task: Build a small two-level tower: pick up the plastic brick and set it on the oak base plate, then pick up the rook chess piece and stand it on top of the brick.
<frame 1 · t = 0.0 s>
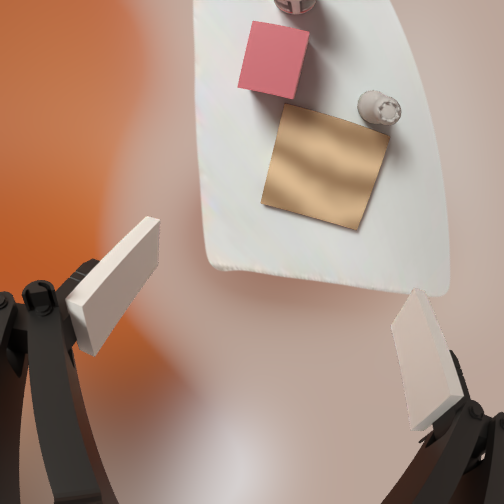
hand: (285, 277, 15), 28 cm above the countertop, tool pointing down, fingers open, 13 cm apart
brick: (278, 64, 33), on the countertop
base plate: (323, 167, 39), on the countertop
rook chess piece: (373, 106, 33), on the countertop
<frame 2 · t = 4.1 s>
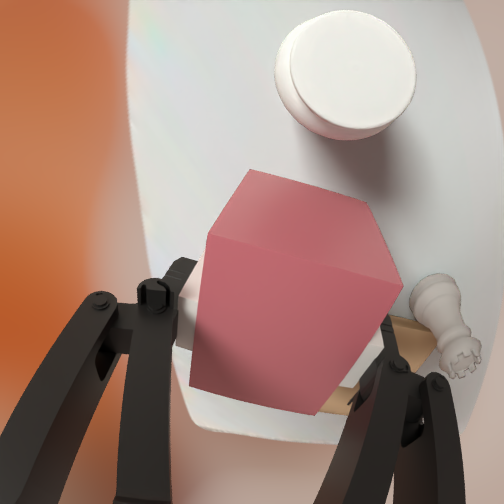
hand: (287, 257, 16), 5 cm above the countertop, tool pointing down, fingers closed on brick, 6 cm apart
pill bottle: (328, 83, 16), on the countertop
brick: (288, 253, 16), point 5 cm above the countertop, touching gripper
base plate: (343, 365, 27), on the countertop
rook chess piece: (431, 291, 22), on the countertop
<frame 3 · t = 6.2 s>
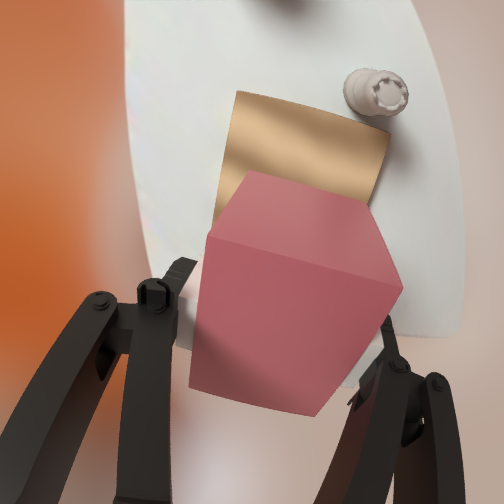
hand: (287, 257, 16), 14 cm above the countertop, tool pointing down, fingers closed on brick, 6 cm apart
brick: (288, 254, 16), point 14 cm above the countertop, touching gripper
base plate: (296, 178, 28), on the countertop
rook chess piece: (366, 91, 23), on the countertop
when the fingers open (2 cm above the countertop, at t = 8.6 s): brick stays where it is, resting on base plate.
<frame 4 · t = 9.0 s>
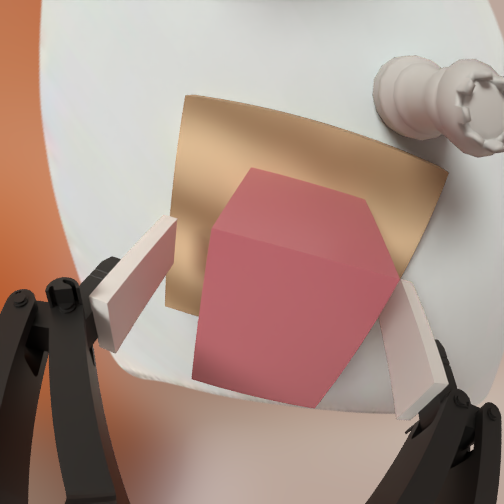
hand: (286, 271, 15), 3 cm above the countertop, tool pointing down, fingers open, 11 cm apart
brick: (288, 249, 17), point 1 cm above the countertop, touching base plate
base plate: (290, 239, 18), on the countertop
rook chess piece: (409, 96, 13), on the countertop
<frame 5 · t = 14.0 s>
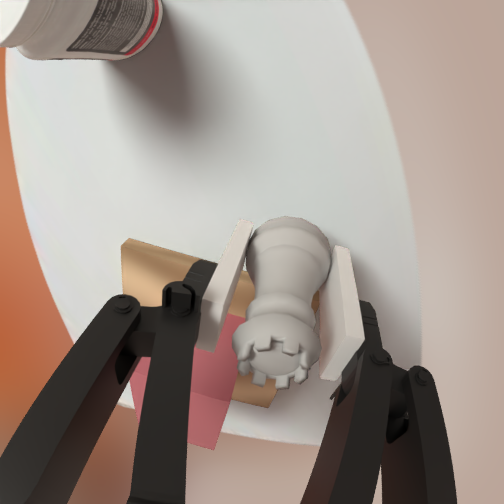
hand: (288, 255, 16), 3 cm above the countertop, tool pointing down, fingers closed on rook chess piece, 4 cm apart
pill bottle: (128, 22, 13), on the countertop
brick: (204, 344, 23), point 1 cm above the countertop, touching base plate
base plate: (208, 334, 24), on the countertop
rook chess piece: (289, 248, 17), point 2 cm above the countertop, touching gripper
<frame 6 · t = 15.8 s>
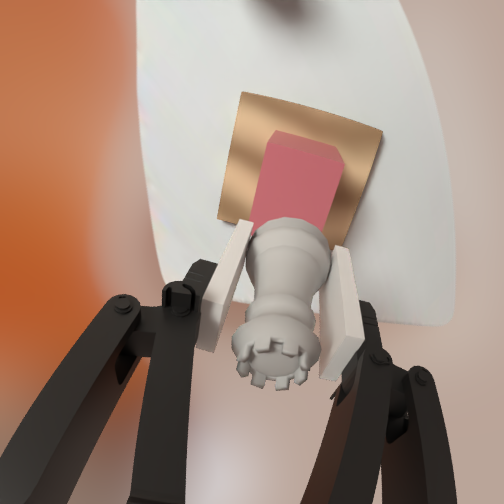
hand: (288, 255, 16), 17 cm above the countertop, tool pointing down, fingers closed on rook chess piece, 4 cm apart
brick: (295, 175, 29), point 1 cm above the countertop, touching base plate
base plate: (296, 172, 30), on the countertop
rook chess piece: (289, 249, 17), point 16 cm above the countertop, touching gripper
when the fingers open (9 cm above the countertop, at t = 17.4 s): rook chess piece stays where it is, resting on brick.
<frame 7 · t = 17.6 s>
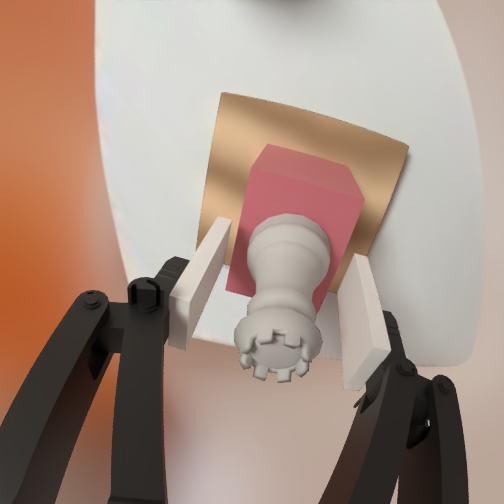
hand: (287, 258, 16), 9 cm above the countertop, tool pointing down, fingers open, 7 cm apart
brick: (294, 203, 23), point 1 cm above the countertop, touching base plate, rook chess piece
base plate: (294, 198, 24), on the countertop
rook chess piece: (289, 245, 17), point 8 cm above the countertop, touching brick
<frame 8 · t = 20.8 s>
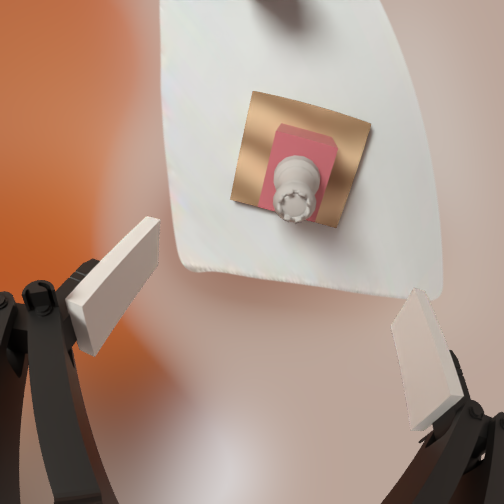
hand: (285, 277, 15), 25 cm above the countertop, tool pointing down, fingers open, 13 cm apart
brick: (298, 161, 34), point 1 cm above the countertop, touching base plate, rook chess piece
base plate: (298, 159, 36), on the countertop
rook chess piece: (297, 176, 29), point 8 cm above the countertop, touching brick
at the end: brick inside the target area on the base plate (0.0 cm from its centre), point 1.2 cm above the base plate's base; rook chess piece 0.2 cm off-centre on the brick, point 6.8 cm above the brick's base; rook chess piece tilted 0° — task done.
